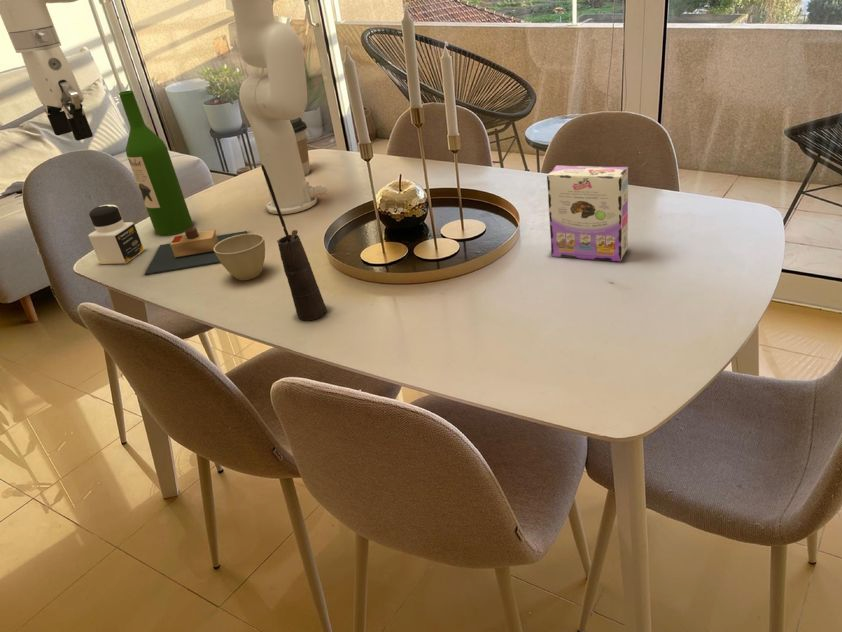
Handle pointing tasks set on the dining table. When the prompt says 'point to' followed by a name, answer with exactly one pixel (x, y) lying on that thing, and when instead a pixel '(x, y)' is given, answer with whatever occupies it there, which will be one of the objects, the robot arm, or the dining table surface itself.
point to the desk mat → (169, 262)
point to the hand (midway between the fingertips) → (74, 136)
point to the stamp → (194, 243)
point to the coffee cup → (301, 142)
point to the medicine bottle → (113, 236)
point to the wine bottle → (154, 173)
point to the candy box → (588, 212)
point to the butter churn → (298, 271)
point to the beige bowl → (242, 255)
